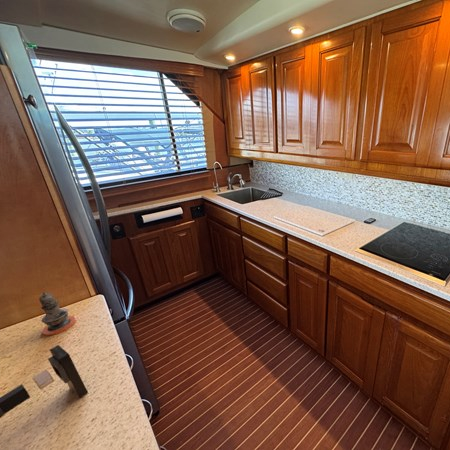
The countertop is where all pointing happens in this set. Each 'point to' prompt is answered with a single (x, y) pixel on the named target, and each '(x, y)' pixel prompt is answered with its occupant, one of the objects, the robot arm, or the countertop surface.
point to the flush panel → (67, 370)
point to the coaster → (46, 332)
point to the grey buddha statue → (53, 313)
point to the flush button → (43, 379)
